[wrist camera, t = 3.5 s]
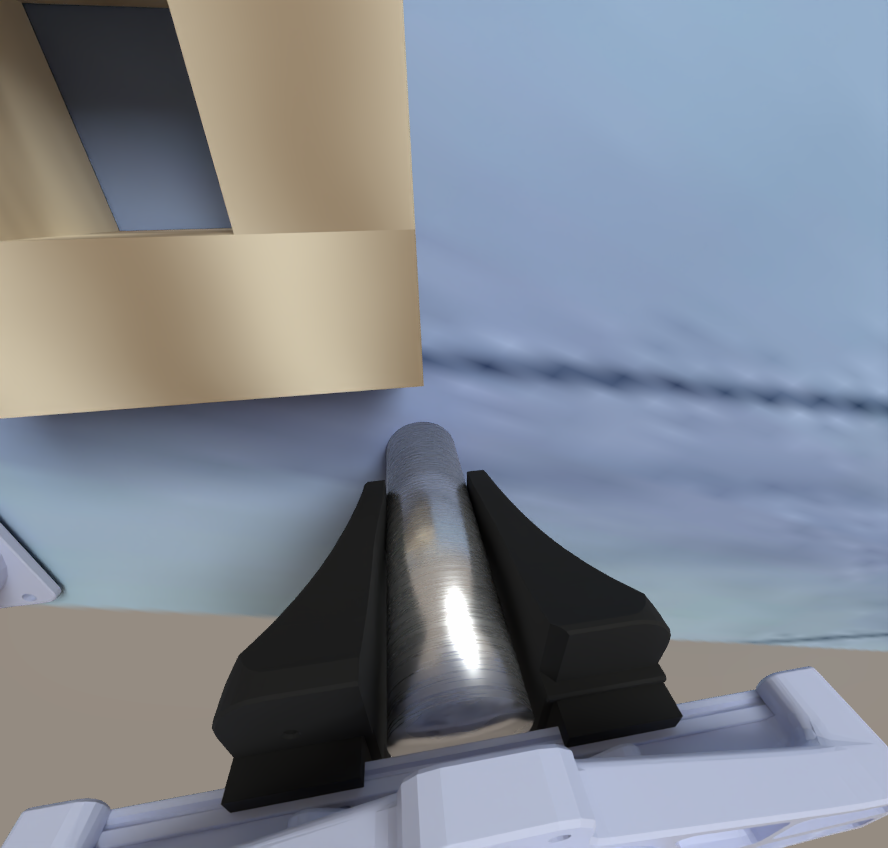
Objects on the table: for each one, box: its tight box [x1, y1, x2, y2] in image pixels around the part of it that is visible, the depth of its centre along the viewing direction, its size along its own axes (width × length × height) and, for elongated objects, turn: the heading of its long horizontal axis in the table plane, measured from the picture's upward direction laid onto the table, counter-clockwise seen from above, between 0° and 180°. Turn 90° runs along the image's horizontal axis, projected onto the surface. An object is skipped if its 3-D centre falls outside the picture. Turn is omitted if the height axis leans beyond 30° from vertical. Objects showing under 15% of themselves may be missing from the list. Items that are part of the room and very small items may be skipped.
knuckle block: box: [0, 0, 424, 418], centre depth 8 cm, size 12×12×4 cm
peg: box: [386, 422, 534, 757], centre depth 12 cm, size 3×3×10 cm
